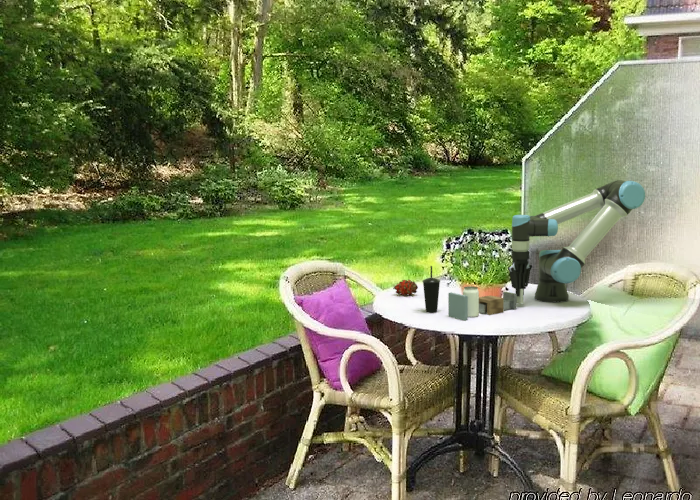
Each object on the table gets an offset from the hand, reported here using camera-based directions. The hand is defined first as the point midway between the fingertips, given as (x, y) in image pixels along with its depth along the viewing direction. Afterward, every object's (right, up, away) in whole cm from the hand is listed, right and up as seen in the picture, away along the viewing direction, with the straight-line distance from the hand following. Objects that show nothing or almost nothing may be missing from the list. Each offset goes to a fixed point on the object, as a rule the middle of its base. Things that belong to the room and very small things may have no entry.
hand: (519, 303), depth 309 cm
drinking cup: (-40, -3, -7) cm, 40 cm away
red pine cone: (-48, +1, +30) cm, 56 cm away
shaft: (-12, -2, -7) cm, 14 cm away
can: (-24, -4, -15) cm, 29 cm away
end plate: (-30, -5, -19) cm, 36 cm away
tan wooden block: (-15, -3, -10) cm, 18 cm away
